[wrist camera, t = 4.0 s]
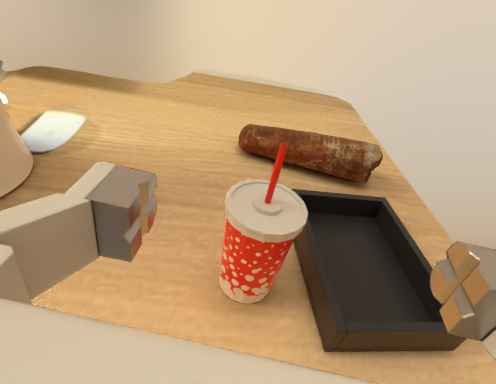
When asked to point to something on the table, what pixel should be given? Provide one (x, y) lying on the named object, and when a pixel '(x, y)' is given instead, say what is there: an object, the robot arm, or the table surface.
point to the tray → (367, 277)
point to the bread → (314, 151)
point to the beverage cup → (258, 234)
